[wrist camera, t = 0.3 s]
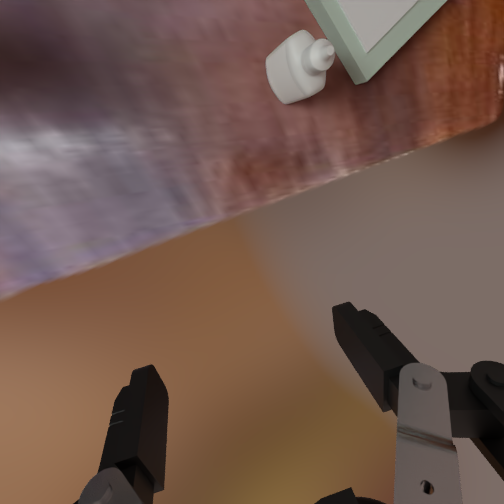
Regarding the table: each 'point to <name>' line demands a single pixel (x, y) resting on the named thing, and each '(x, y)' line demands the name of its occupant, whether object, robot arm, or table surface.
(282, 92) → the eye dropper bottle
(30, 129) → the table surface
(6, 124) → the table surface
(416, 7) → the arbor press
